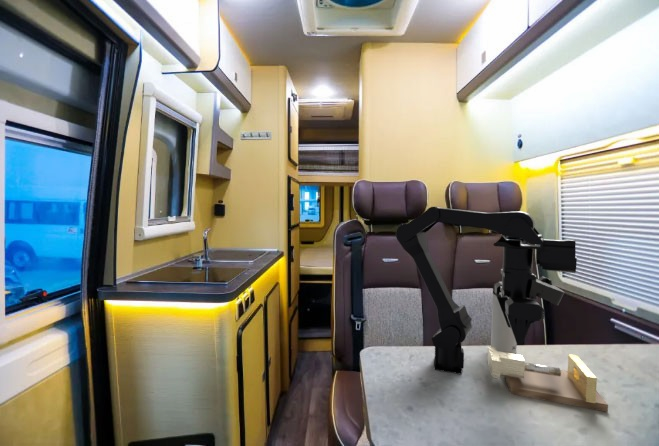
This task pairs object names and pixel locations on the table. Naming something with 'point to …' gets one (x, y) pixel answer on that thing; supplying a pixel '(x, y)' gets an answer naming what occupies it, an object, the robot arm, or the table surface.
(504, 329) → the travel mug
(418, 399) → the table surface
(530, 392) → the copper board
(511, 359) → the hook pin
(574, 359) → the gold slab
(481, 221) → the robot arm
